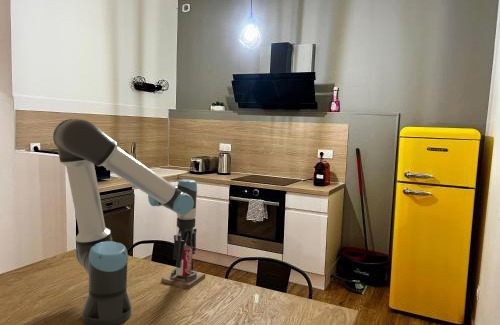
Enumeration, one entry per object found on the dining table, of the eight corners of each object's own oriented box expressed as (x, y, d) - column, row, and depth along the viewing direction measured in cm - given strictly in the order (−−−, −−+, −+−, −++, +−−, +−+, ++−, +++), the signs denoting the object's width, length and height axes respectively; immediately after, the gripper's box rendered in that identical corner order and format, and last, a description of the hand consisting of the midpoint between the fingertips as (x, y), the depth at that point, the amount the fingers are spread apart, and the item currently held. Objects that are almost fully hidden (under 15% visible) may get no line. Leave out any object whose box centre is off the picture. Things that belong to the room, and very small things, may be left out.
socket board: (205, 277, 157) (205, 269, 157) (188, 288, 145) (189, 280, 145) (179, 271, 162) (179, 263, 162) (161, 281, 150) (161, 274, 150)
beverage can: (193, 272, 156) (194, 245, 155) (189, 278, 150) (190, 250, 149) (178, 271, 157) (179, 244, 156) (174, 277, 151) (175, 248, 149)
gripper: (191, 211, 161) (188, 262, 164) (164, 220, 144) (162, 278, 146) (205, 214, 158) (203, 266, 161) (180, 223, 141) (178, 282, 143)
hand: (183, 271), depth 153 cm, fingers closed on beverage can, 6 cm apart
